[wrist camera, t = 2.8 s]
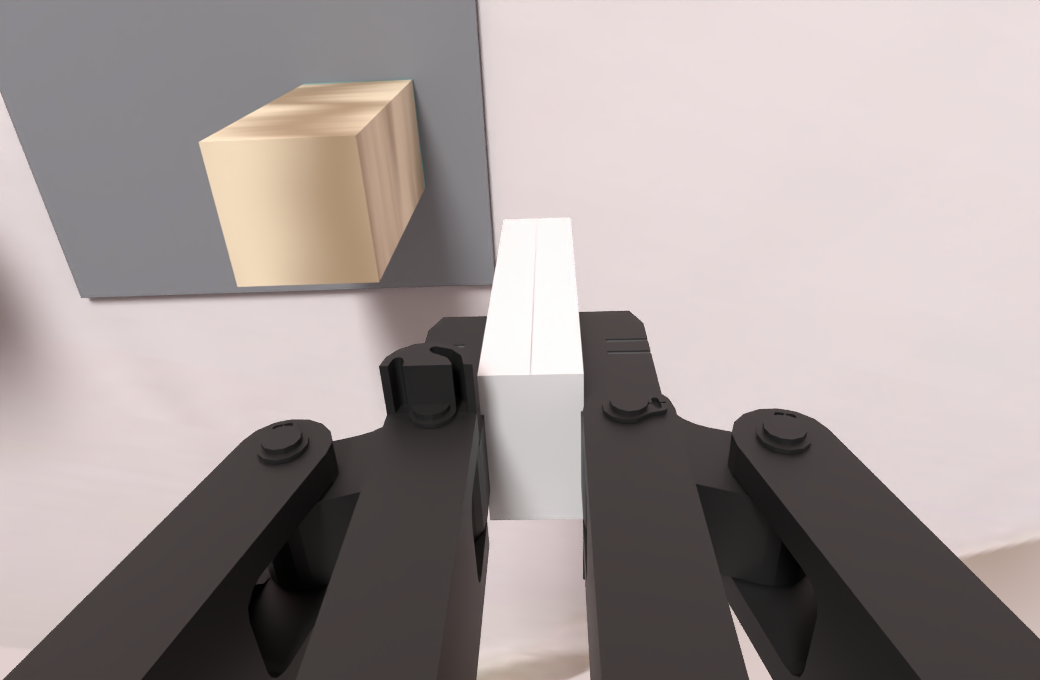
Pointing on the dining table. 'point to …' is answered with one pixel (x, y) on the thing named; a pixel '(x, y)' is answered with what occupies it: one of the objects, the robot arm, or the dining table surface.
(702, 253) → the dining table surface
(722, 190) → the dining table surface
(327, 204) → the beech block
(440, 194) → the mat
